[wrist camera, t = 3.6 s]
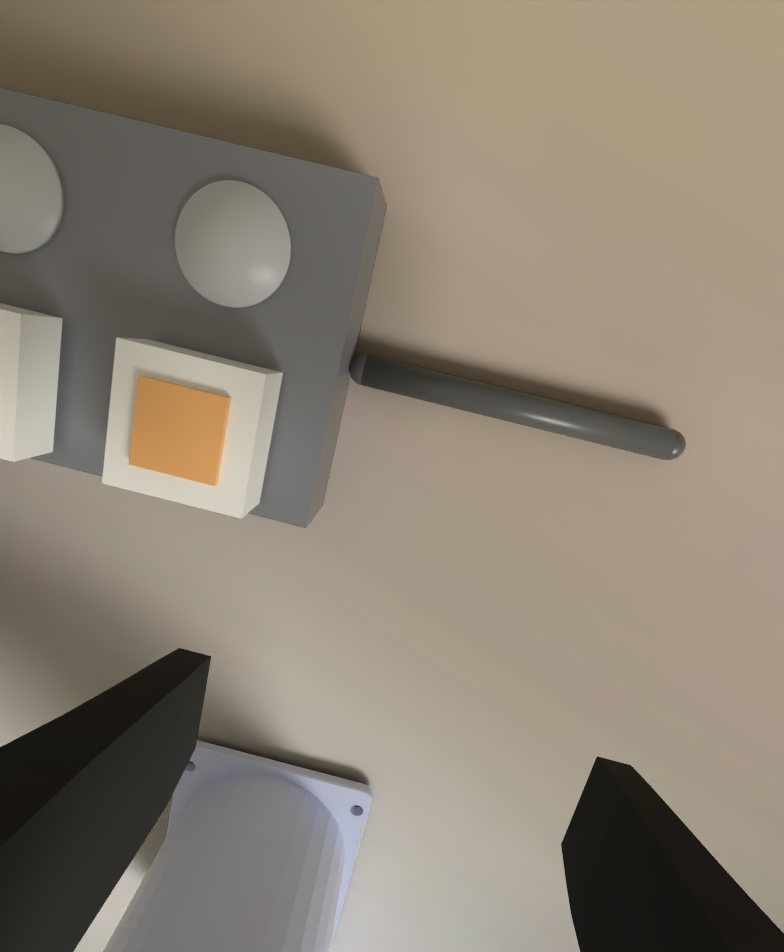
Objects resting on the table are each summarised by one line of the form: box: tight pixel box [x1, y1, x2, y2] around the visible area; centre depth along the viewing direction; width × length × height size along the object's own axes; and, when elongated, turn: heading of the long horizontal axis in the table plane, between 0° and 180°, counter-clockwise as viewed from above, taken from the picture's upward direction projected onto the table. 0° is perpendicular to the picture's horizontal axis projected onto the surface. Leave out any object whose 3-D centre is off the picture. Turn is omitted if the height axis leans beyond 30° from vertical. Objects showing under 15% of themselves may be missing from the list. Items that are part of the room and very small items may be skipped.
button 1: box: [102, 337, 283, 519], centre depth 14 cm, size 4×4×2 cm
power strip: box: [0, 88, 686, 528], centre depth 16 cm, size 10×31×3 cm, turn 77°
